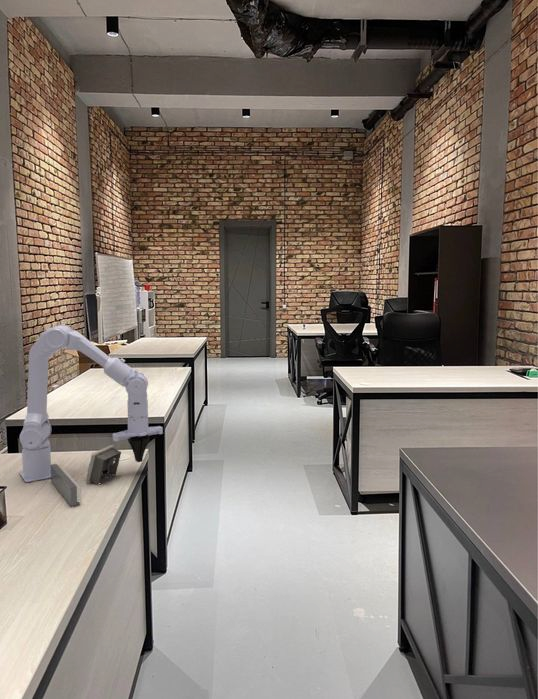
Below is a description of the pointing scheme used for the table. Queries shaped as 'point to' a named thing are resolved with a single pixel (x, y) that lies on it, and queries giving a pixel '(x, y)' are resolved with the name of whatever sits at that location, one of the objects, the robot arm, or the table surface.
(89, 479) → the electrical switch
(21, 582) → the table surface
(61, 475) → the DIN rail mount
